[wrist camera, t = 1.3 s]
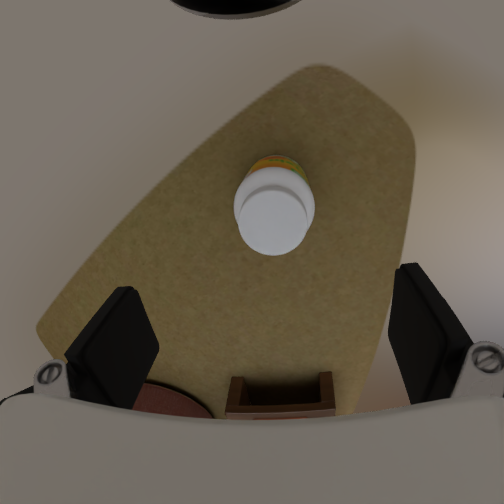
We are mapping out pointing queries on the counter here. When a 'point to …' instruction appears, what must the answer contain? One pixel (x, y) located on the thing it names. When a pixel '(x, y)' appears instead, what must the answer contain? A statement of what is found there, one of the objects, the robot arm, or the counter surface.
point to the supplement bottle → (274, 205)
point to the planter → (168, 402)
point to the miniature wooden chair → (242, 408)
